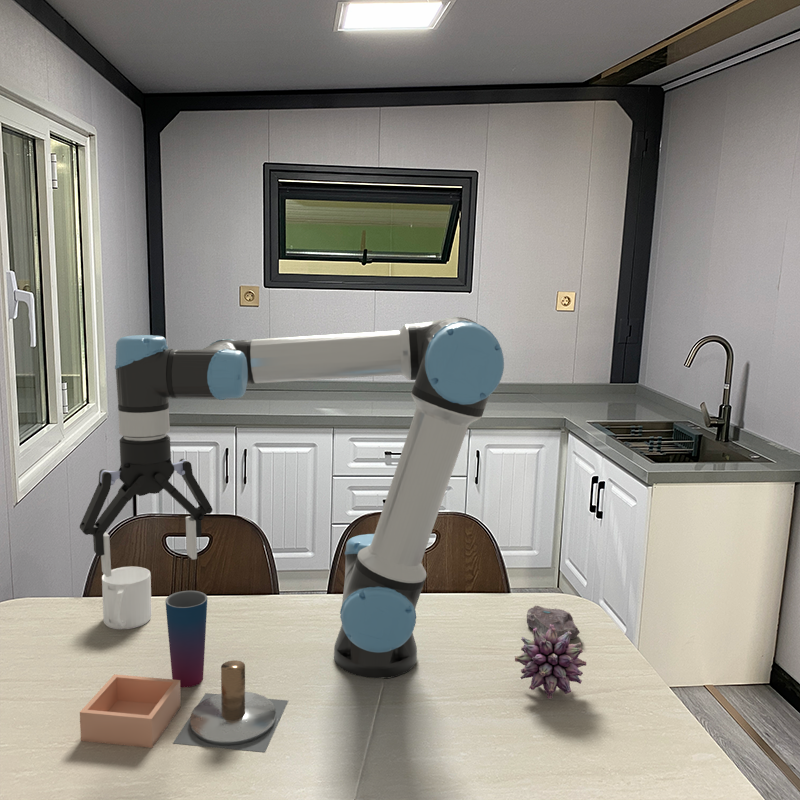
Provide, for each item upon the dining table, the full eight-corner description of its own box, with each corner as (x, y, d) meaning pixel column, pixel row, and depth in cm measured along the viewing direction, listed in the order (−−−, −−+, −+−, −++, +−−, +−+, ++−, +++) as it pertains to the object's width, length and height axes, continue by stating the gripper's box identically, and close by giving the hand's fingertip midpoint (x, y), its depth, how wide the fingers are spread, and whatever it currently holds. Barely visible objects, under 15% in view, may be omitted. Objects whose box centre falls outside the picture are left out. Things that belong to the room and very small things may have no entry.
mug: (116, 608, 163) (115, 565, 161) (158, 611, 162) (157, 568, 160) (87, 635, 151) (85, 588, 149) (133, 638, 150) (131, 592, 148)
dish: (180, 708, 127) (180, 680, 127) (152, 750, 117) (151, 718, 116) (115, 702, 128) (114, 674, 128) (81, 743, 118) (79, 712, 117)
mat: (288, 702, 130) (288, 700, 130) (264, 754, 116) (264, 752, 116) (205, 695, 132) (205, 693, 131) (172, 745, 118) (172, 743, 118)
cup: (197, 694, 132) (196, 609, 129) (159, 689, 133) (157, 604, 130) (215, 674, 138) (214, 593, 136) (178, 669, 140) (177, 588, 137)
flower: (561, 721, 127) (566, 652, 125) (499, 692, 135) (503, 627, 133) (597, 694, 136) (602, 629, 134) (537, 668, 144) (541, 606, 142)
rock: (551, 617, 165) (552, 596, 164) (584, 642, 155) (586, 620, 154) (518, 623, 162) (519, 602, 161) (549, 649, 152) (550, 626, 151)
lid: (284, 701, 130) (284, 649, 128) (262, 749, 117) (262, 692, 115) (207, 694, 131) (206, 643, 129) (177, 741, 118) (176, 684, 117)
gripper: (212, 422, 133) (216, 543, 137) (54, 439, 120) (62, 573, 123) (230, 431, 127) (233, 556, 131) (64, 449, 114) (73, 590, 117)
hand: (150, 565), depth 127 cm, fingers open, 13 cm apart
